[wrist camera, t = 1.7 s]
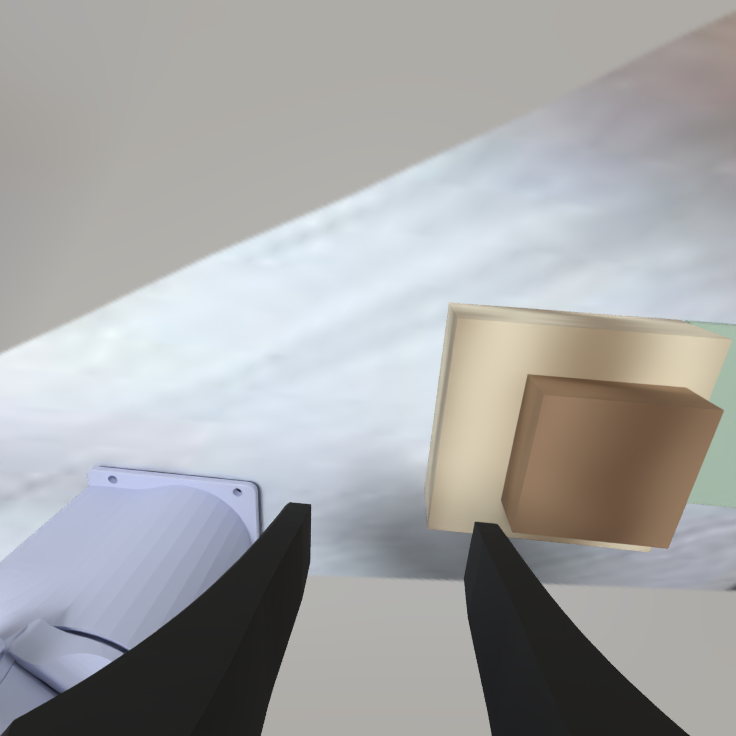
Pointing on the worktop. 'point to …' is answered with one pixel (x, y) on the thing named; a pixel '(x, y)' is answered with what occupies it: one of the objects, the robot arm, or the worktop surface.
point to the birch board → (507, 382)
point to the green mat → (720, 432)
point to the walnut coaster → (605, 459)
